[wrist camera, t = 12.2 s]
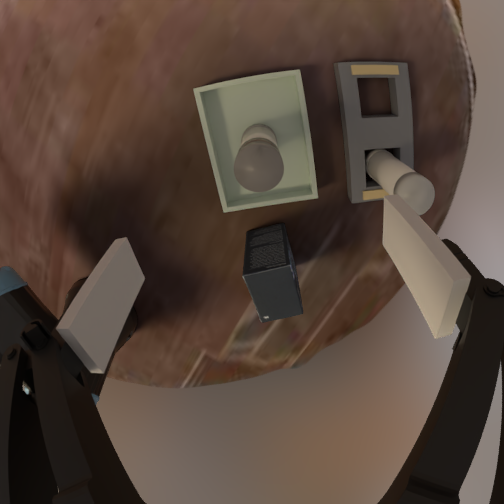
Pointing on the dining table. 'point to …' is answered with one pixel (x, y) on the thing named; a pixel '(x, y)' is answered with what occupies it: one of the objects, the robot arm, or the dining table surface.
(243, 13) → the dining table surface
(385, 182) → the fuse
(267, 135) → the cylinder
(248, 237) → the box
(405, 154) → the fuse holder
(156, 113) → the dining table surface
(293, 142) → the parts tray
